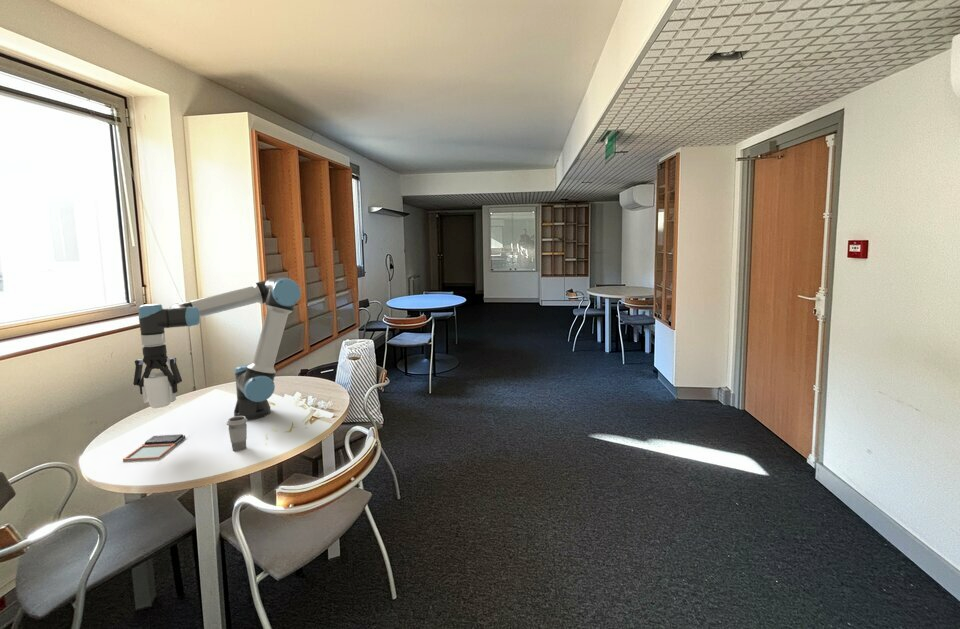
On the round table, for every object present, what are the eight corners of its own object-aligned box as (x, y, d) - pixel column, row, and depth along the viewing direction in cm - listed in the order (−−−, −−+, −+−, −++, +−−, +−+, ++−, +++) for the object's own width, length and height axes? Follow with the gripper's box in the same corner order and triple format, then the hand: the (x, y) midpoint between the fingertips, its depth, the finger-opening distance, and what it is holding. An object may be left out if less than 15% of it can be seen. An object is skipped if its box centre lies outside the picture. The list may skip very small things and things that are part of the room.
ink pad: (185, 438, 192) (185, 433, 192) (176, 445, 185) (175, 441, 185) (153, 439, 191) (152, 435, 191) (142, 447, 183) (142, 443, 183)
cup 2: (235, 454, 177) (232, 423, 175) (225, 450, 181) (222, 419, 179) (253, 447, 183) (251, 417, 181) (243, 443, 187) (240, 414, 185)
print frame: (175, 445, 185) (175, 443, 185) (159, 459, 173) (158, 457, 173) (142, 447, 183) (142, 445, 183) (123, 461, 171) (122, 459, 171)
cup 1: (160, 409, 180) (157, 379, 179) (140, 408, 182) (137, 377, 180) (179, 402, 189) (176, 372, 187) (160, 400, 191) (157, 371, 189)
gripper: (189, 341, 187) (194, 397, 190) (129, 343, 185) (135, 399, 188) (179, 345, 180) (185, 403, 183) (117, 347, 177) (123, 406, 180)
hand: (160, 401), depth 185 cm, fingers closed on cup 1, 9 cm apart
